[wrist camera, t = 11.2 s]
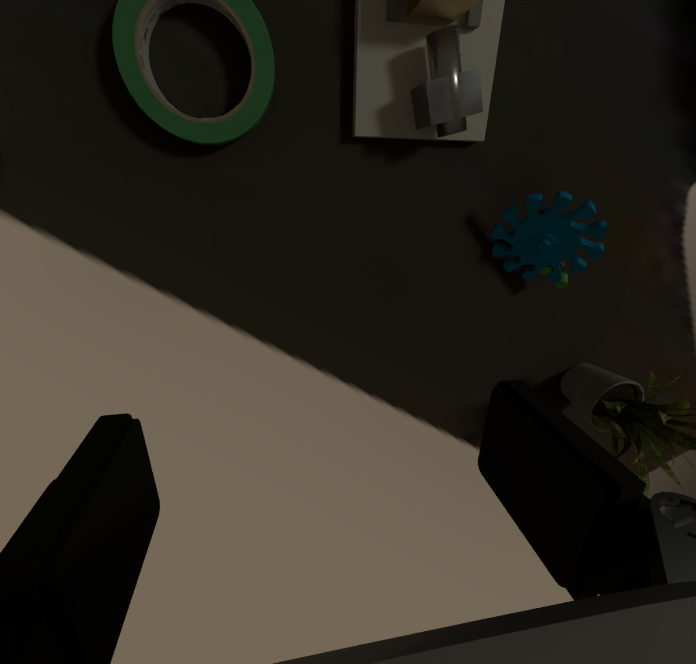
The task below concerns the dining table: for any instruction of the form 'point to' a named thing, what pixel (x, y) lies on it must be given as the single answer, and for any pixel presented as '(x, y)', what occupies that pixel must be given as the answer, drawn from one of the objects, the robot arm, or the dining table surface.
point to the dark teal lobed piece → (548, 238)
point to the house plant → (628, 413)
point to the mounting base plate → (414, 66)
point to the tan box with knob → (439, 9)
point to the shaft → (446, 86)
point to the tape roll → (133, 63)
